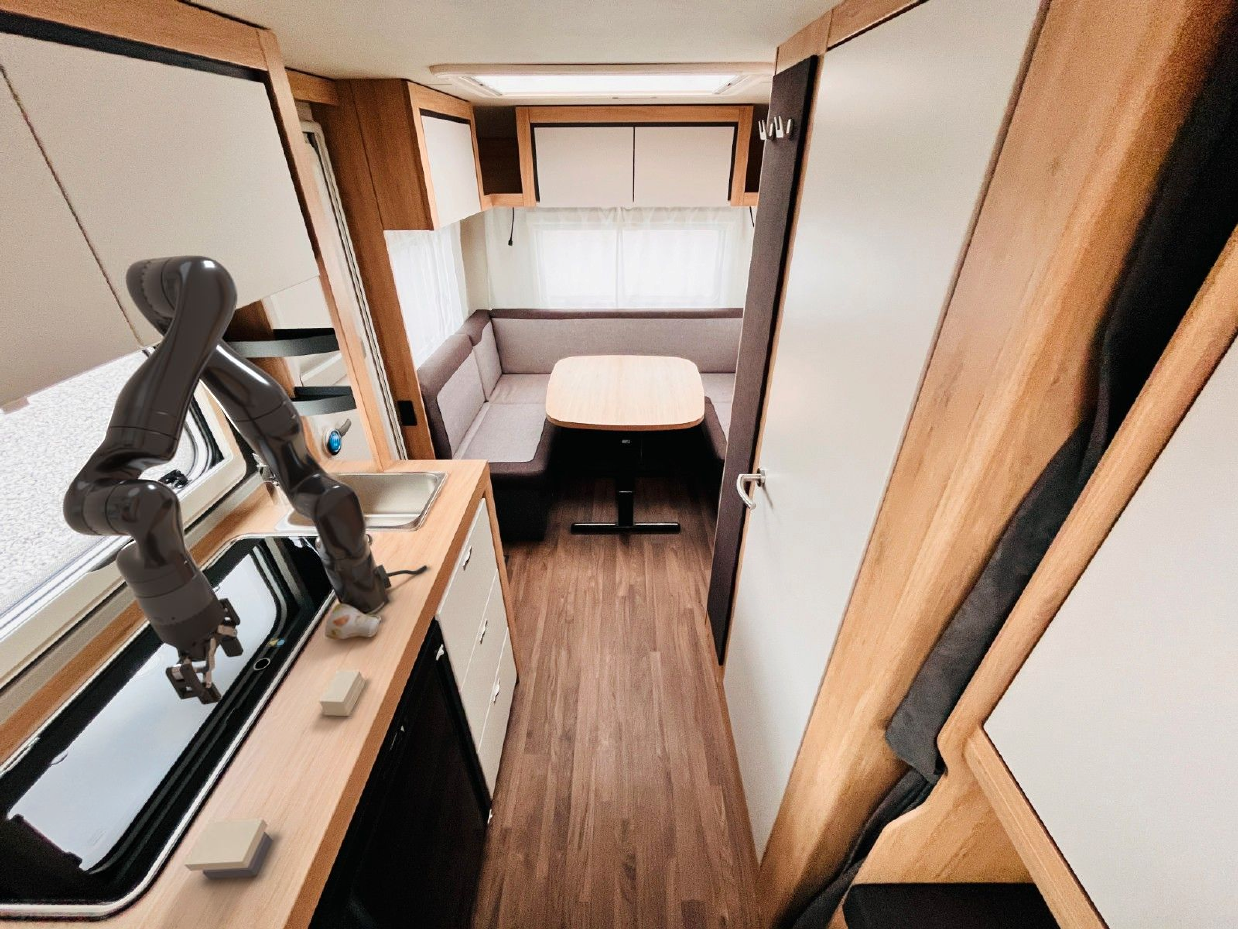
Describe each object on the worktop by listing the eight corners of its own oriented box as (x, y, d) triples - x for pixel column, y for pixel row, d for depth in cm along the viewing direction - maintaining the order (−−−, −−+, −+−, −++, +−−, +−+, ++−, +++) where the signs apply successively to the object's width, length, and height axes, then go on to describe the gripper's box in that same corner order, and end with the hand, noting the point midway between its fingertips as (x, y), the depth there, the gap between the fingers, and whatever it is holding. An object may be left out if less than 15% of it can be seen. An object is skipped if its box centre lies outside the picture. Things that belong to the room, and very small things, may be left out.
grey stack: (208, 879, 72) (196, 867, 69) (227, 843, 75) (216, 830, 73) (256, 876, 72) (245, 864, 70) (273, 840, 76) (262, 828, 73)
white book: (190, 871, 69) (183, 865, 68) (214, 827, 74) (208, 821, 72) (247, 867, 69) (241, 861, 68) (268, 824, 74) (262, 818, 73)
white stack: (343, 682, 98) (336, 669, 96) (365, 683, 98) (359, 670, 95) (325, 715, 92) (318, 702, 90) (348, 716, 92) (342, 703, 90)
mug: (378, 647, 105) (339, 626, 99) (347, 652, 109) (307, 633, 103) (392, 613, 110) (356, 591, 104) (362, 620, 114) (325, 599, 108)
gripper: (187, 638, 66) (234, 713, 74) (231, 564, 78) (267, 637, 86) (119, 648, 64) (175, 724, 73) (175, 572, 76) (217, 645, 84)
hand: (225, 676), depth 79 cm, fingers open, 8 cm apart
